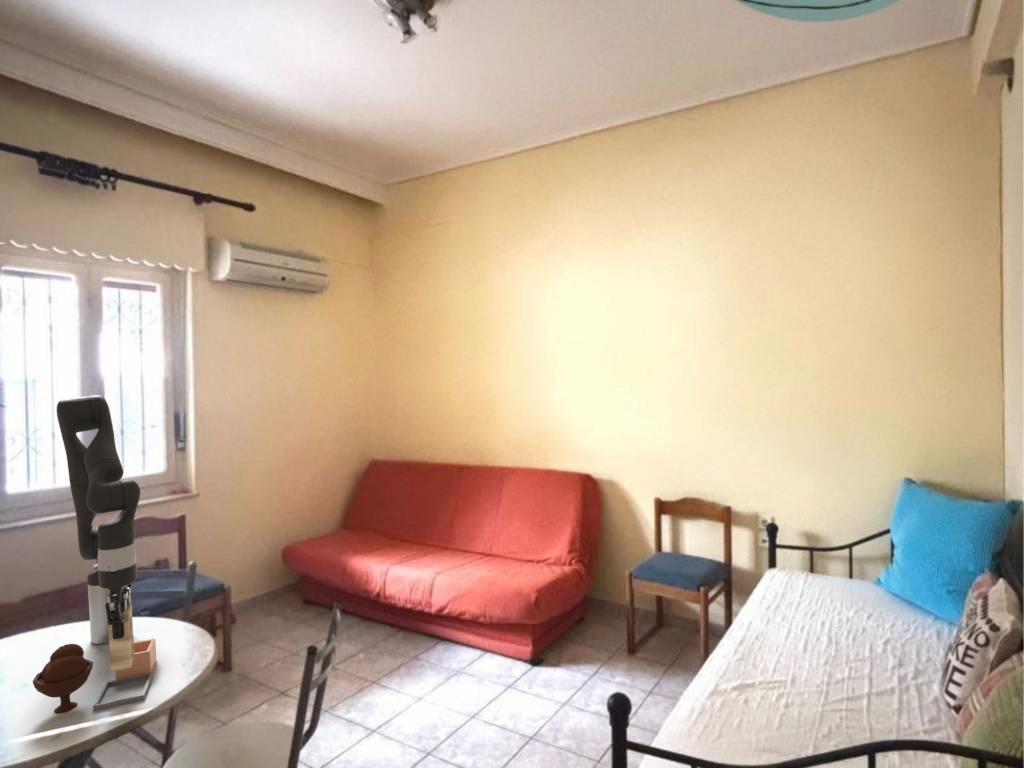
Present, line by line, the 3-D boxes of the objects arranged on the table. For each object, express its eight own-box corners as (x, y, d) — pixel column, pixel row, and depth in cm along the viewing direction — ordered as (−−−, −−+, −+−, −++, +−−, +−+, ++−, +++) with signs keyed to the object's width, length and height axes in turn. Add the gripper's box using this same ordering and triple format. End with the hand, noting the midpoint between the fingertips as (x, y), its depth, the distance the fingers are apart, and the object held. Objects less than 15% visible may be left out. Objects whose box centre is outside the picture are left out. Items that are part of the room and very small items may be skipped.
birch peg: (115, 663, 138) (112, 607, 138) (134, 660, 140) (131, 604, 139) (110, 671, 134) (107, 613, 134) (130, 667, 136) (127, 610, 135)
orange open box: (123, 670, 149) (121, 644, 149) (156, 663, 152) (155, 638, 152) (115, 685, 142) (114, 658, 142) (151, 678, 145) (149, 651, 145)
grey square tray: (106, 689, 141) (105, 681, 140) (153, 679, 144) (152, 672, 144) (93, 714, 130) (93, 706, 130) (144, 703, 134) (143, 695, 134)
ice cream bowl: (32, 712, 132) (28, 649, 131) (91, 691, 140) (88, 632, 139) (37, 732, 124) (33, 665, 124) (99, 709, 132) (95, 646, 132)
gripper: (106, 557, 141) (110, 625, 142) (89, 576, 128) (93, 651, 129) (142, 552, 144) (145, 619, 145) (128, 571, 131) (132, 643, 132)
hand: (121, 633), depth 137 cm, fingers closed on birch peg, 4 cm apart
